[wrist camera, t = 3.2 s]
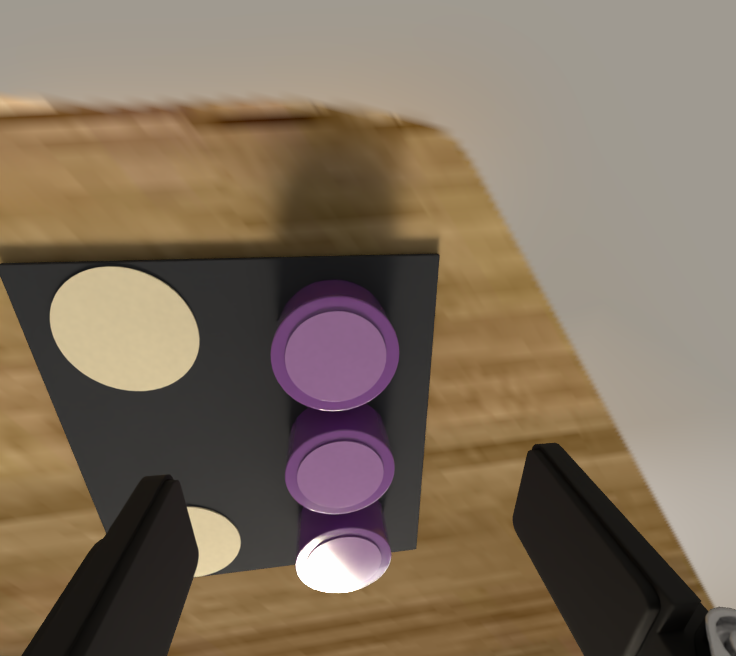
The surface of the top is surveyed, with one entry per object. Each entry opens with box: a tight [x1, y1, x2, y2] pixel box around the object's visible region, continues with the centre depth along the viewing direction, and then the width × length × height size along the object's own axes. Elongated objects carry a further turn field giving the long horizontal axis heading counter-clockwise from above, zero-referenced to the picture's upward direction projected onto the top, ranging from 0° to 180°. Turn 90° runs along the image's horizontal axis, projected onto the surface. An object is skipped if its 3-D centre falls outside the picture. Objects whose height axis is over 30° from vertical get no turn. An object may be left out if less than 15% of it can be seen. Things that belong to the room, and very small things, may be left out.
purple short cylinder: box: [270, 280, 399, 411], centre depth 18 cm, size 6×6×3 cm
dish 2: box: [285, 403, 395, 514], centre depth 21 cm, size 6×6×3 cm
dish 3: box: [295, 500, 391, 593], centre depth 24 cm, size 6×6×3 cm
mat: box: [0, 254, 439, 578], centre depth 22 cm, size 22×24×1 cm
